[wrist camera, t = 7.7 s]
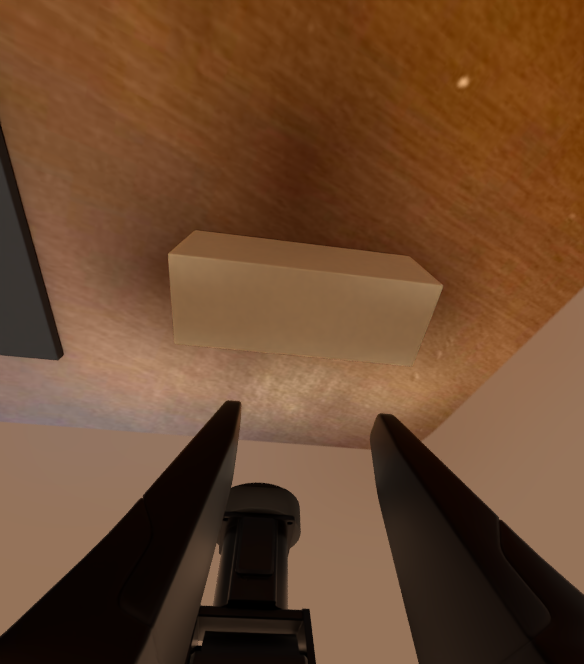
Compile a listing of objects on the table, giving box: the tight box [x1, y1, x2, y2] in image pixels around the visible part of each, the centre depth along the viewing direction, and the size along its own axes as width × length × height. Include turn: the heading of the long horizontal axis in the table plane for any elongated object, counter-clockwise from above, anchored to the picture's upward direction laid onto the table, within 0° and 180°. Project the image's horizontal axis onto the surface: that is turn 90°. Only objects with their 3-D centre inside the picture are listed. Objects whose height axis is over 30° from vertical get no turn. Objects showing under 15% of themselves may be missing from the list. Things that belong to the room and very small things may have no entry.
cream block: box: [168, 230, 443, 367], centre depth 17 cm, size 4×4×12 cm
